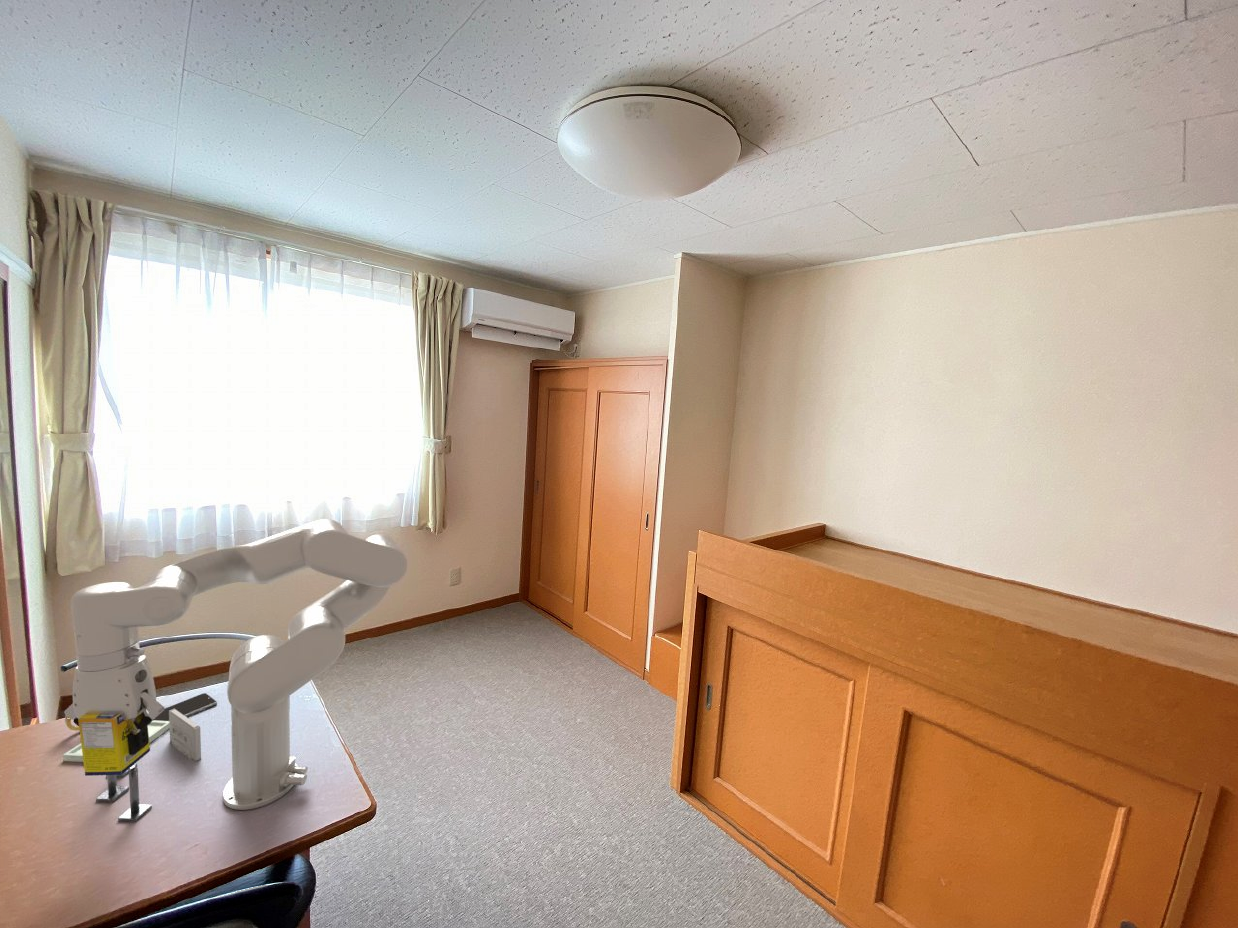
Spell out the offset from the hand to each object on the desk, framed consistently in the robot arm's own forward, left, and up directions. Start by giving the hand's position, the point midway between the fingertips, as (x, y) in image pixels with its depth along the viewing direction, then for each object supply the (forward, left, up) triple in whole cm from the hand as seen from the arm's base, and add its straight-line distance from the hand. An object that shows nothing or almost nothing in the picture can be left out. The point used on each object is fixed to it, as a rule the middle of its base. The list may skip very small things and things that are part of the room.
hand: (118, 748), depth 87 cm
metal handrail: (+7, -8, -16) cm, 19 cm away
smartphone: (+18, -31, -17) cm, 40 cm away
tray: (+21, -21, -16) cm, 34 cm away
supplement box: (0, 0, -3) cm, 3 cm away
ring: (+32, -25, -16) cm, 44 cm away
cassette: (+6, -20, -16) cm, 27 cm away
